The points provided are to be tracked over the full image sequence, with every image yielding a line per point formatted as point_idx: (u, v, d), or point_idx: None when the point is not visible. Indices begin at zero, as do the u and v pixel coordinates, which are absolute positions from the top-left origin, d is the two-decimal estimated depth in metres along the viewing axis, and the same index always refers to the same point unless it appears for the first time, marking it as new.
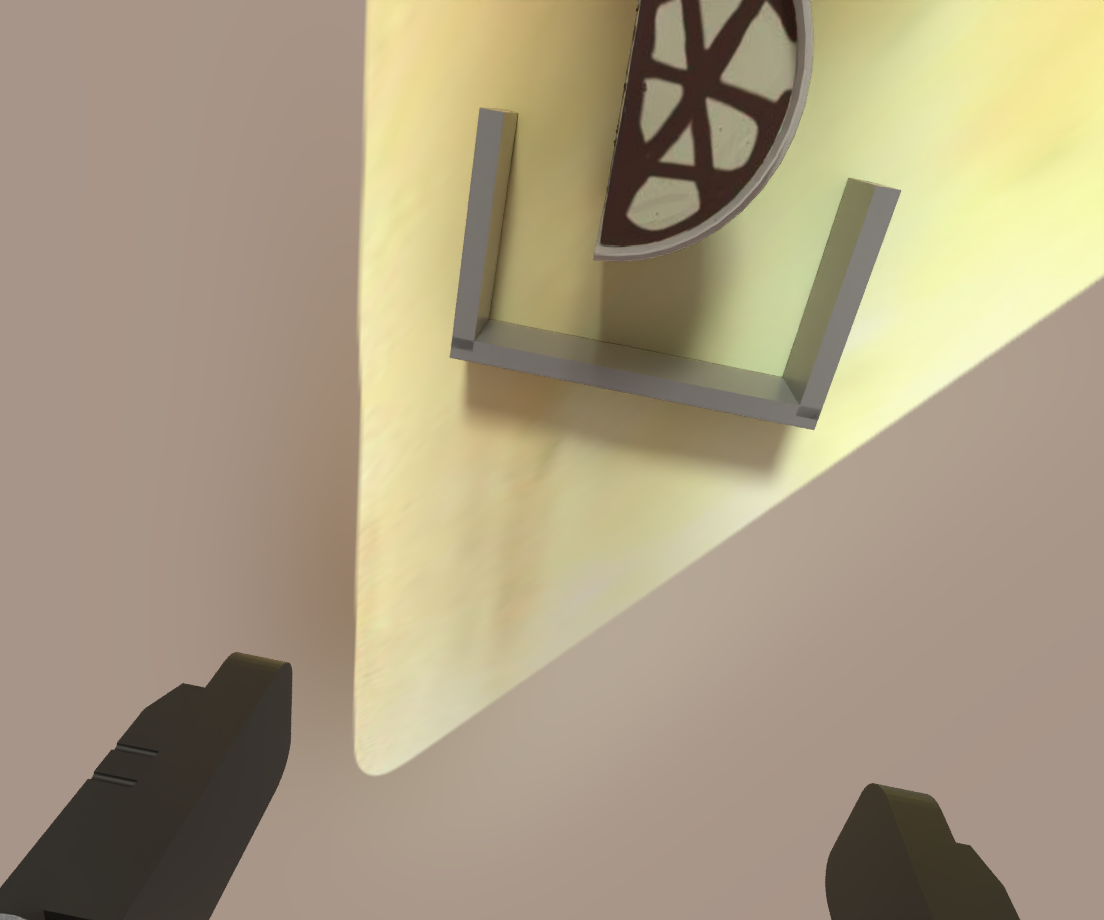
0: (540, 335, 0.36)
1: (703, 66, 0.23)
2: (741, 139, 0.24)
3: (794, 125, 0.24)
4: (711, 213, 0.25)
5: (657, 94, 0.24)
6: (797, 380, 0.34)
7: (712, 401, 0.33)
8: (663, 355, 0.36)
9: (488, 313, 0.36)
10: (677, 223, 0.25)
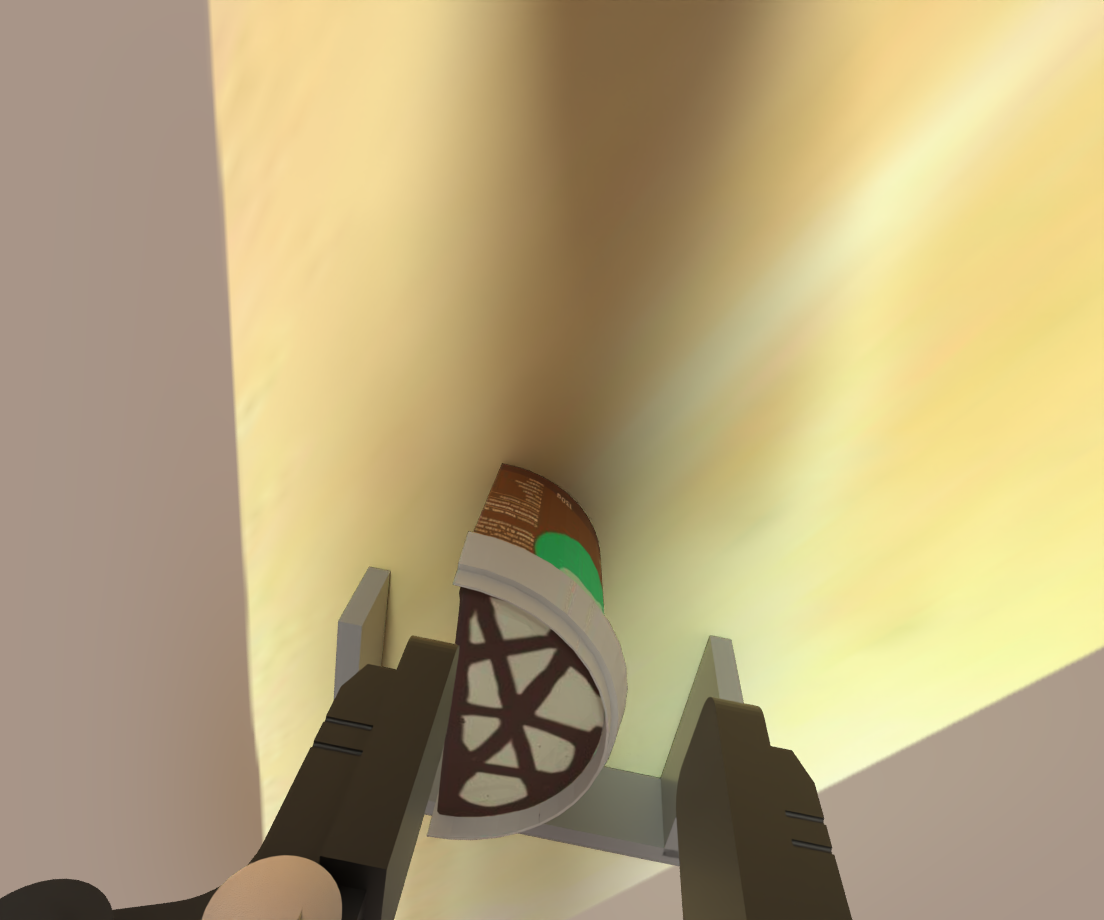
0: None
1: (518, 705, 0.24)
2: (559, 753, 0.25)
3: (606, 753, 0.25)
4: (537, 801, 0.26)
5: (476, 724, 0.25)
6: (666, 810, 0.35)
7: (581, 840, 0.35)
8: None
9: None
10: (507, 803, 0.27)
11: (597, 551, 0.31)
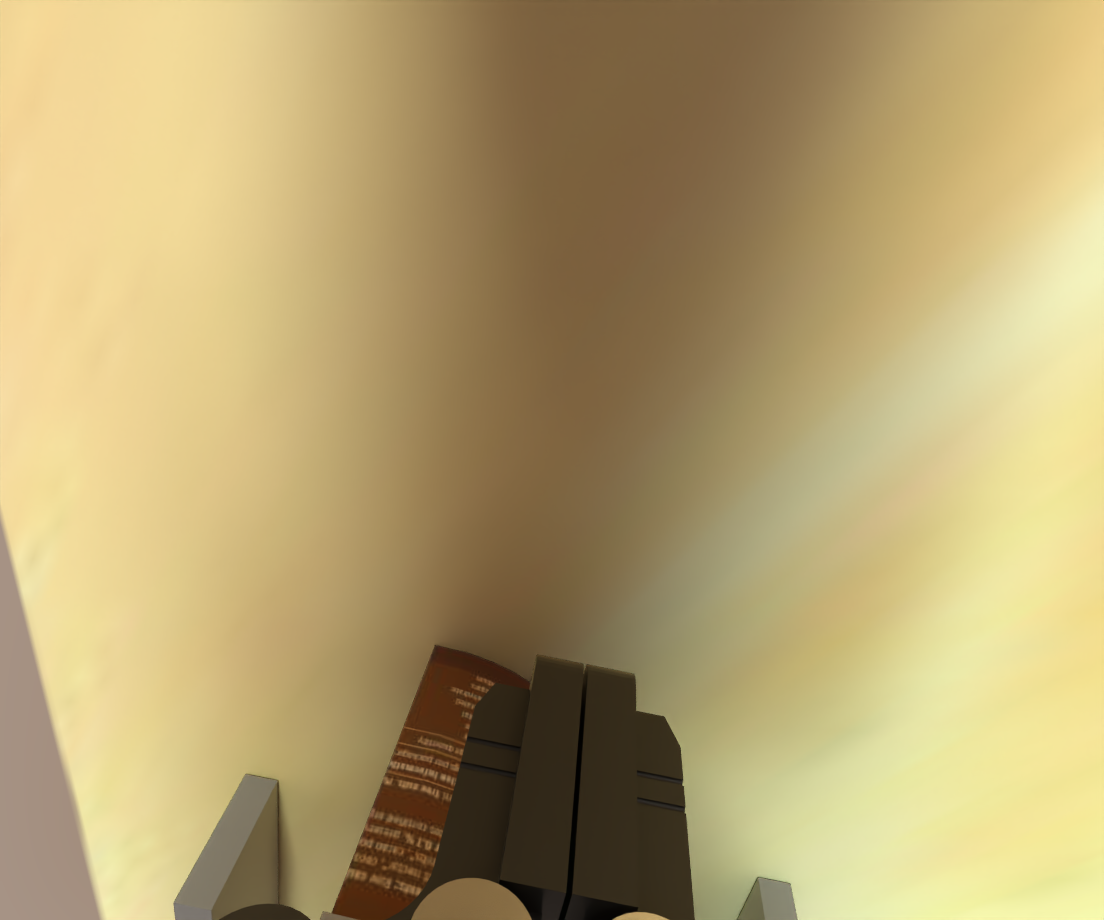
0: None
1: None
2: None
3: None
4: None
5: None
6: None
7: None
8: None
9: None
10: None
11: None
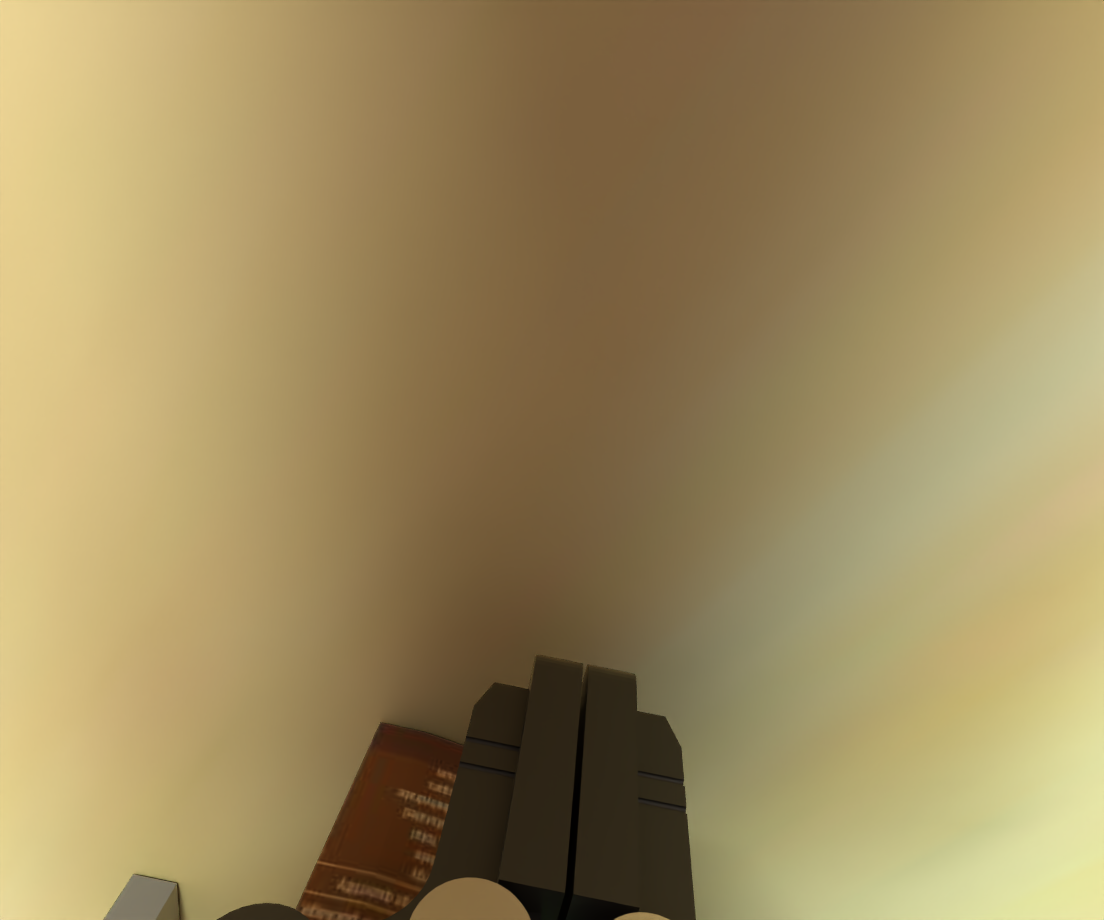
0: None
1: None
2: None
3: None
4: None
5: None
6: None
7: None
8: None
9: None
10: None
11: None
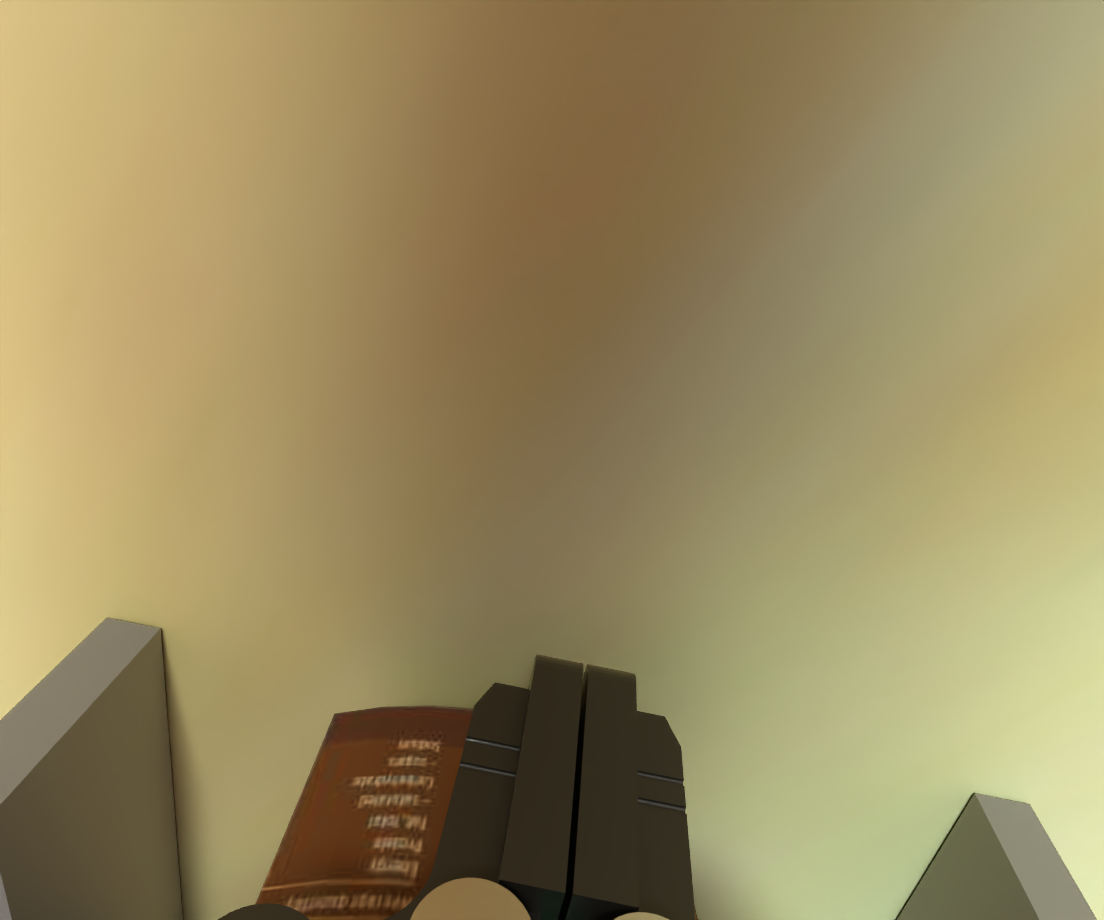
0: None
1: None
2: None
3: None
4: None
5: None
6: None
7: None
8: None
9: None
10: None
11: None
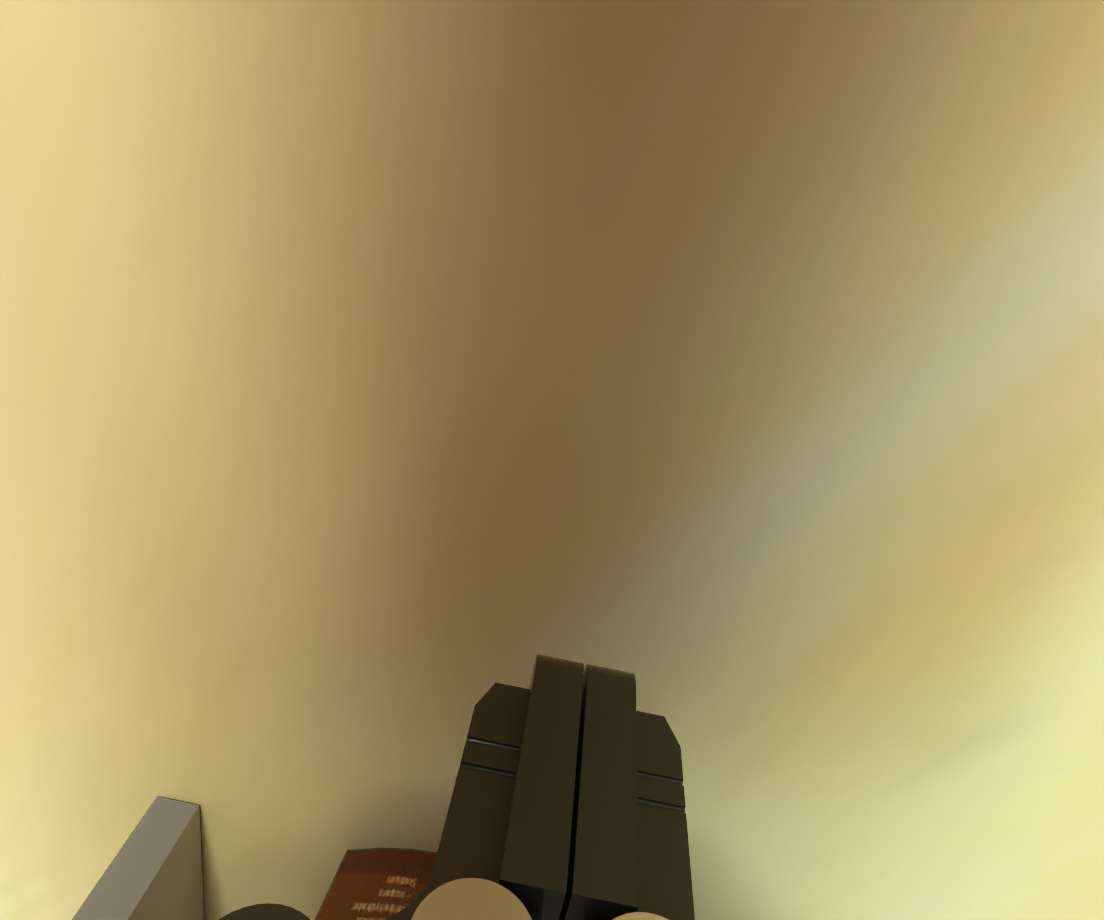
0: None
1: None
2: None
3: None
4: None
5: None
6: None
7: None
8: None
9: None
10: None
11: None
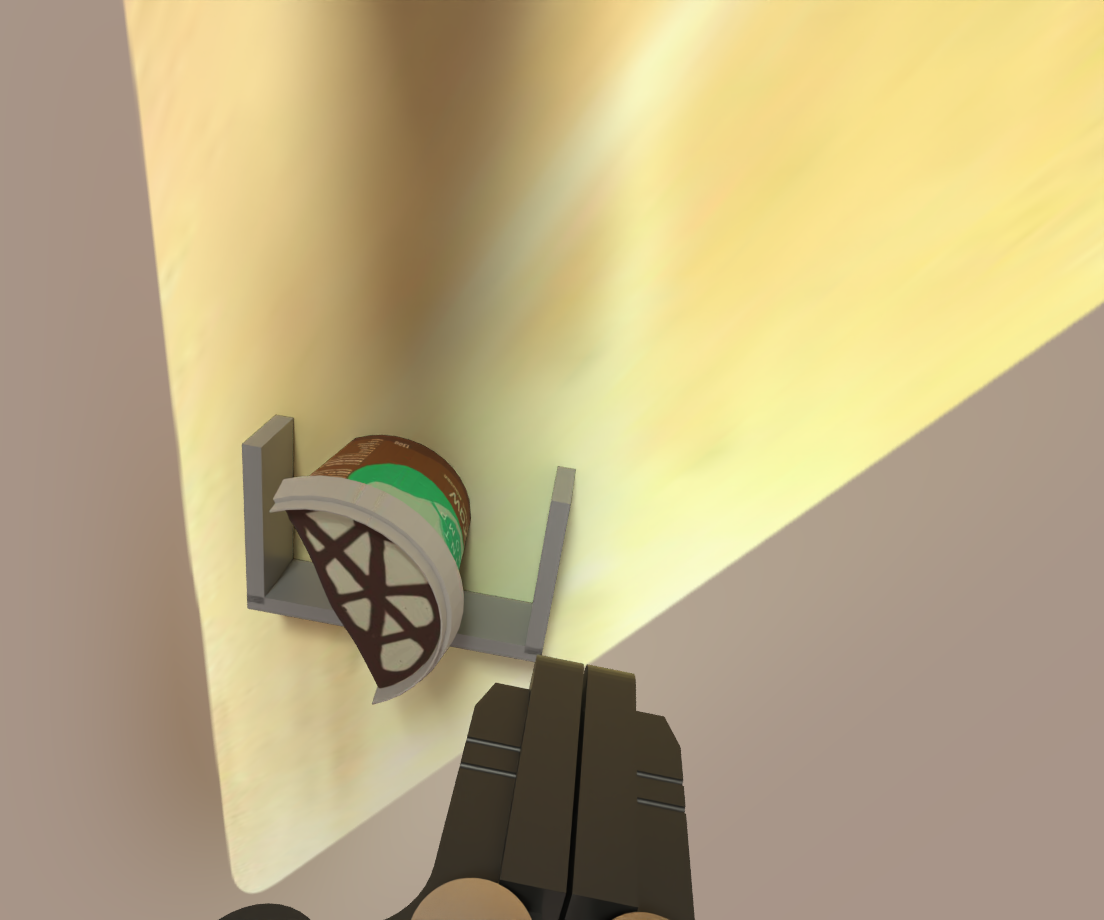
0: None
1: (372, 583, 0.34)
2: (421, 608, 0.34)
3: (445, 593, 0.34)
4: (431, 650, 0.35)
5: (355, 608, 0.34)
6: None
7: (457, 642, 0.42)
8: None
9: (290, 557, 0.44)
10: (416, 661, 0.36)
11: (442, 470, 0.40)
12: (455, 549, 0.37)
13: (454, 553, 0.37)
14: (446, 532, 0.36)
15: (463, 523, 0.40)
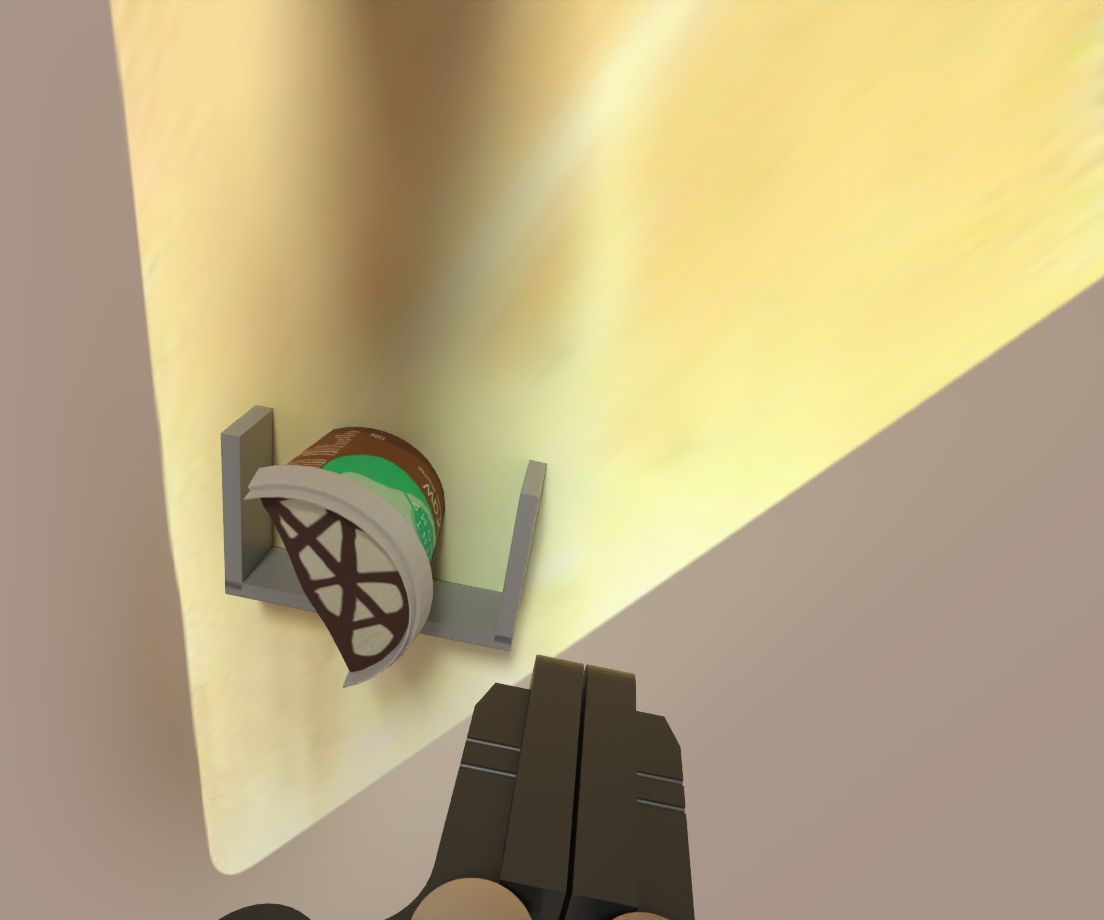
0: None
1: (344, 570, 0.35)
2: (391, 594, 0.36)
3: (414, 581, 0.35)
4: (401, 636, 0.36)
5: (327, 594, 0.36)
6: None
7: (429, 629, 0.43)
8: None
9: (268, 545, 0.46)
10: (386, 646, 0.37)
11: (416, 462, 0.41)
12: (427, 539, 0.38)
13: (425, 542, 0.38)
14: (417, 522, 0.38)
15: (436, 514, 0.41)
